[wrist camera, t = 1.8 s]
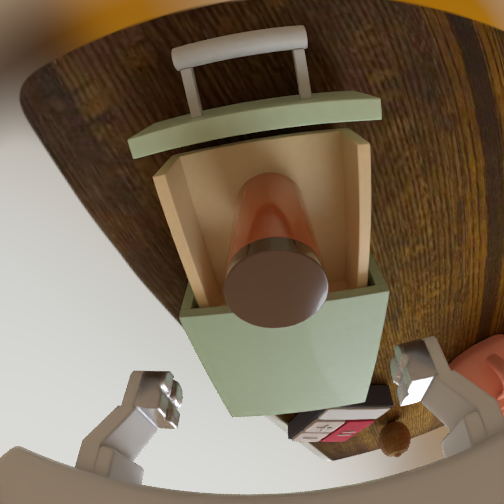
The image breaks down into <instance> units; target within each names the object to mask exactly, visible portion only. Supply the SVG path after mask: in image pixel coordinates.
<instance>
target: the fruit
mask: <svg viewBox="0 0 504 504" xmlns="http://www.w3.org/2000/svg"><path fill="white" fill-rule="evenodd" d="M379 444H380V448H381V450H382V452H383V453H384V454H385V455H387V456H389V457H391V456H395V457H399V456H400V455H401V454H402V453H404V452H405V451H407V449H408V447H409V444H410V433H409V430H408V428H407V427H406V426H405V425H404V424H403V423H401V422H395V421H391V422H389V423H388V424H387V425H386V426H384V427H383V428H382V430H381V433H380V437H379Z"/></svg>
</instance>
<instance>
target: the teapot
mask: <svg viewBox="0 0 504 504" xmlns="http://www.w3.org/2000/svg"><path fill="white" fill-rule="evenodd" d="M449 367H450V369H451V371H452V370H455V371H457V372H458V373H460V374H461V375H462V376H464V377H465V378H467V379H468V380H469V381H471V382H472V383H474V384H475V385H477V386H478V387H479V388H481V389H482V390H484V391H485V392H486V393H488V394H489V395H491V396H492V397H493V398H495V399H496V400H497V402H498V404H499V407H500V409H501V412H502V415H503V417H504V335H503V334H497V335H494V336H491V337H489V338H487V339H485V340H483V341H481V342H479V343H477V344H475V345H473V346H472V347H470V348H468V349H467V350H465V351H464V352H462V353H461V354H460V355H458V356H457V357H456V358H455V359H454V360H453V361H451V363H450V364H449Z"/></svg>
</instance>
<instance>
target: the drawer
mask: <svg viewBox="0 0 504 504" xmlns="http://www.w3.org/2000/svg"><path fill="white" fill-rule="evenodd" d="M307 47H308V40H307V34H306V30H305V27H304V26H303V25H298V26H287V27H277V28H269V29H261V30H254V31H248V32H242V33H236V34H231V35H226V36H221V37H216V38H212V39H207V40H203V41H199V42H195V43H191V44H187V45H184V46H180V47H177V48H173V49H172V52H171V55H172V61H173V64H174V66H175V68H176V70H177V71H180V70H181V75H182V80H183V84H184V88H185V93H186V97H187V101H188V105H189V110H190V114H187V115H183V116H179V117H175V118H171V119H167V120H164V121H160V122H157V123H154V124H152V125H151V126H149V127H147V128H146V129H144V130H142V131H141V132H139V133H137V134H136V135H134V136H132V137H131V138H129V139H128V144H129V147H130V150H131V153H132V157H133V159H136V158H140V157H144V156H147V155H151V154H155V153H159V152H163V151H167V150H171V149H175V148H179V147H183V146H188V145H192V144H196V143H201V142H206V141H211V140H216V139H221V138H226V137H231V136H237V135H242V134H248V133H254V132H260V131H267V130H274V129H281V128H288V127H296V126H305V125H314V124H324V123H335V122H348V121H365V120H381V119H382V112H381V99H380V98H378V97H374V96H371V95H367V94H364V93H360V92H356V91H336V92H322V93H311V88H310V81H309V75H308V69H307V63H306V57H305V51H304V49H306V48H307ZM285 50H292V54H293V59H294V65H295V71H296V77H297V83H298V89H299V95H292V96H284V97H276V98H269V99H262V100H256V101H250V102H244V103H238V104H233V105H228V106H223V107H218V108H213V109H208V110H204V111H203V110H202V106H201V101H200V97H199V93H198V88H197V84H196V79H195V75H194V70H193V68H192V67H195V66H200V65H204V64H208V63H212V62H217V61H222V60H227V59H232V58H237V57H243V56H249V55H255V54H261V53H269V52H276V51H285ZM262 173H279V174H282V175H285V176H287V177H289V178H290V179H292V180H293V181H294V182H295V183H296V184H297V185H298V187H299V188H300V190H301V192H302V195H303V198H304V201H305V204H306V207H307V210H308V213H309V217H310V220H311V223H312V226H313V230H314V233H315V236H316V239H317V243H318V246H319V250H320V253H321V257H322V260H323V263H324V267H325V271H326V274H327V278H328V283H329V291H328V293H330V292H336V291H343V290H349V289H356V288H362V287H367V282H368V269H369V253H370V231H371V156H370V143H368V142H367V141H366V140H364V139H363V138H362V137H360V136H359V135H358V134H356V133H355V132H353V131H352V130H351V129H349V128H339V129H328V130H318V131H308V132H300V133H292V134H284V135H277V136H270V137H263V138H257V139H251V140H245V141H239V142H233V143H228V144H223V145H218V146H213V147H208V148H203V149H198V150H193V151H189V152H184V153H180V154H176V155H172V156H171V157H170V158H169V159H168V160H167V161H166V162H165V164H164V165H163V166H162V167H161V168H160V169H159V170H158V171H157V173H156V174H155V175H154V176H153V180H154V184H155V187H156V190H157V193H158V196H159V199H160V202H161V205H162V208H163V211H164V214H165V217H166V220H167V223H168V225H169V228H170V231H171V234H172V237H173V240H174V242H175V245H176V248H177V251H178V253H179V256H180V259H181V261H182V264H183V267H184V269H185V272H186V275H187V277H188V280H189V282H190V285H191V288H192V290H193V293H194V295H195V298H196V300H197V303H198V305H199V308H207V307H217V306H226V305H227V303H226V301H225V297H224V290H223V288H224V280H225V273H226V266H227V259H228V252H229V246H230V239H231V232H232V225H233V219H234V212H235V206H236V199H237V195H238V192H239V190H240V188H241V187H242V186H243V184H244V183H245V182H246V181H248V180H249V179H250V178H252V177H254V176H256V175H259V174H262Z"/></svg>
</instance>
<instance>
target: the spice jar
mask: <svg viewBox="0 0 504 504" xmlns="http://www.w3.org/2000/svg"><path fill="white" fill-rule="evenodd" d="M223 290H224V297H225V301H226V303H227V305H228V307H229V308H230V310H231V311H232V312H233V313H234V314H235V315H236V316H237V317H239V318H240V319H241V320H243V321H245V322H247V323H249V324H252V325H255V326H258V327H263V328H284V327H290V326H294V325H297V324H299V323H302V322H304V321H306V320H307V319H309V318H311V317H312V316H313V315H314V314H316V313H317V312H318V311H319V310H320V308H321V307H322V306H323V304H324V302H325V300H326V298H327V295H328V291H329V283H328V278H327V274H326V271H325V267H324V263H323V260H322V257H321V253H320V250H319V246H318V243H317V239H316V236H315V233H314V230H313V226H312V223H311V220H310V217H309V213H308V210H307V207H306V204H305V201H304V198H303V195H302V192H301V190H300V188H299V187H298V185H297V184H296V183H295V182H294V181H293V180H292V179H290V178H289V177H287V176H285V175H282V174H279V173H262V174H259V175H256V176H254V177H252V178H250V179H249V180H248V181H246V182H245V183H244V184H243V186H242V187H241V188H240V190H239V192H238V195H237V199H236V206H235V212H234V219H233V225H232V232H231V239H230V246H229V252H228V259H227V266H226V273H225V280H224V288H223Z"/></svg>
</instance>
